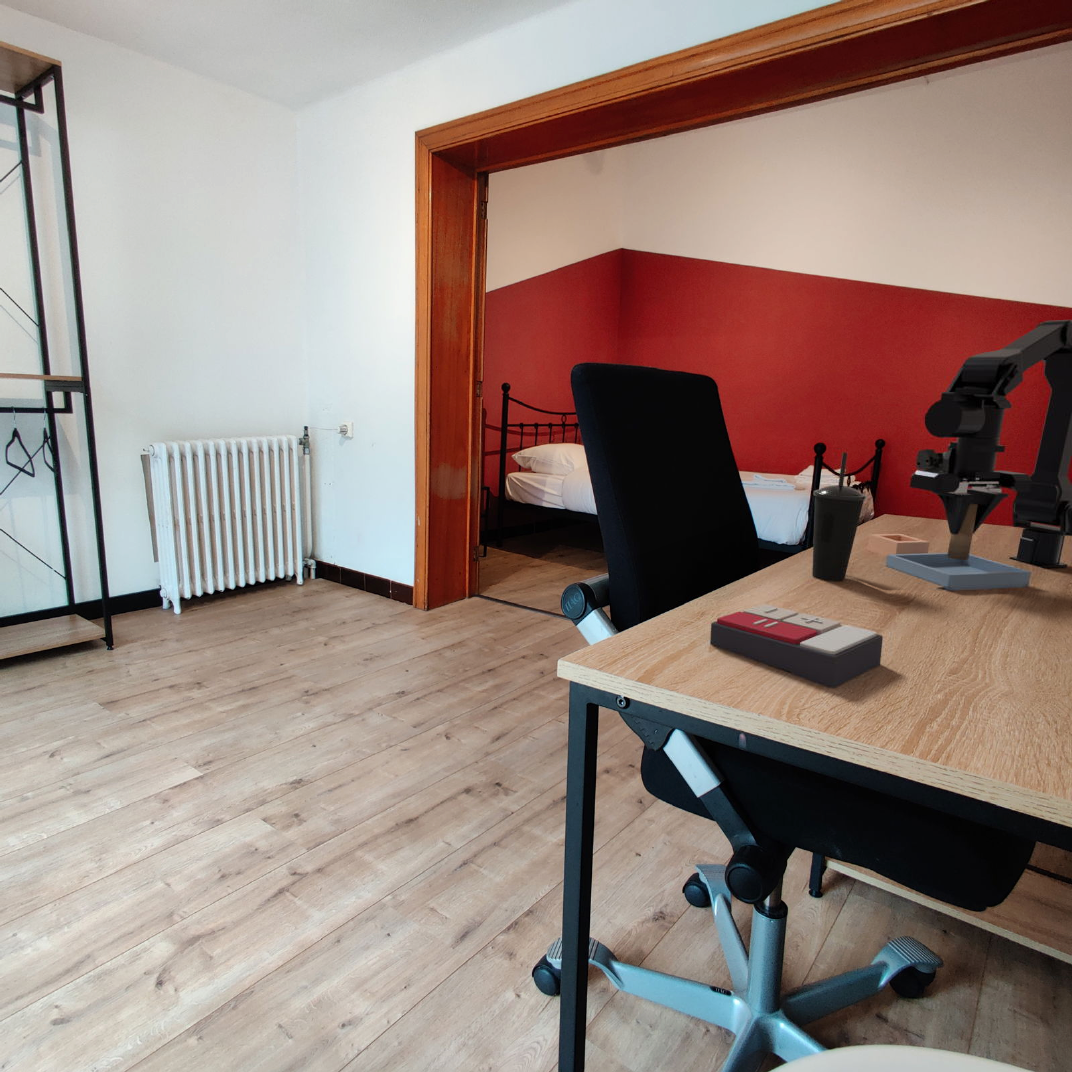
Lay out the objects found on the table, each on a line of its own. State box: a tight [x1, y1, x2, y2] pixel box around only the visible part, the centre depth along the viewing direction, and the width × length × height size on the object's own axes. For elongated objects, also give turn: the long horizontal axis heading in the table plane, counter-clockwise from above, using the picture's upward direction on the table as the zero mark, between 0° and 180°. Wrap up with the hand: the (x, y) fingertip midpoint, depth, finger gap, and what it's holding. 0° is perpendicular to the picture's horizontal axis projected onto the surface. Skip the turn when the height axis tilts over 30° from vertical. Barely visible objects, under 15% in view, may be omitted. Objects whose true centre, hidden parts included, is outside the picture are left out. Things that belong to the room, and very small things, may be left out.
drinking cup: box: [811, 452, 867, 582], centre depth 111 cm, size 8×8×20 cm
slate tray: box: [885, 552, 1032, 592], centre depth 116 cm, size 16×13×2 cm
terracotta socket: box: [866, 533, 930, 558], centre depth 129 cm, size 7×7×4 cm
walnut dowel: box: [947, 503, 978, 560], centre depth 114 cm, size 3×3×9 cm
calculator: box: [709, 603, 884, 689], centre depth 79 cm, size 11×4×15 cm
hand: (961, 533), depth 114 cm, fingers closed on walnut dowel, 3 cm apart
